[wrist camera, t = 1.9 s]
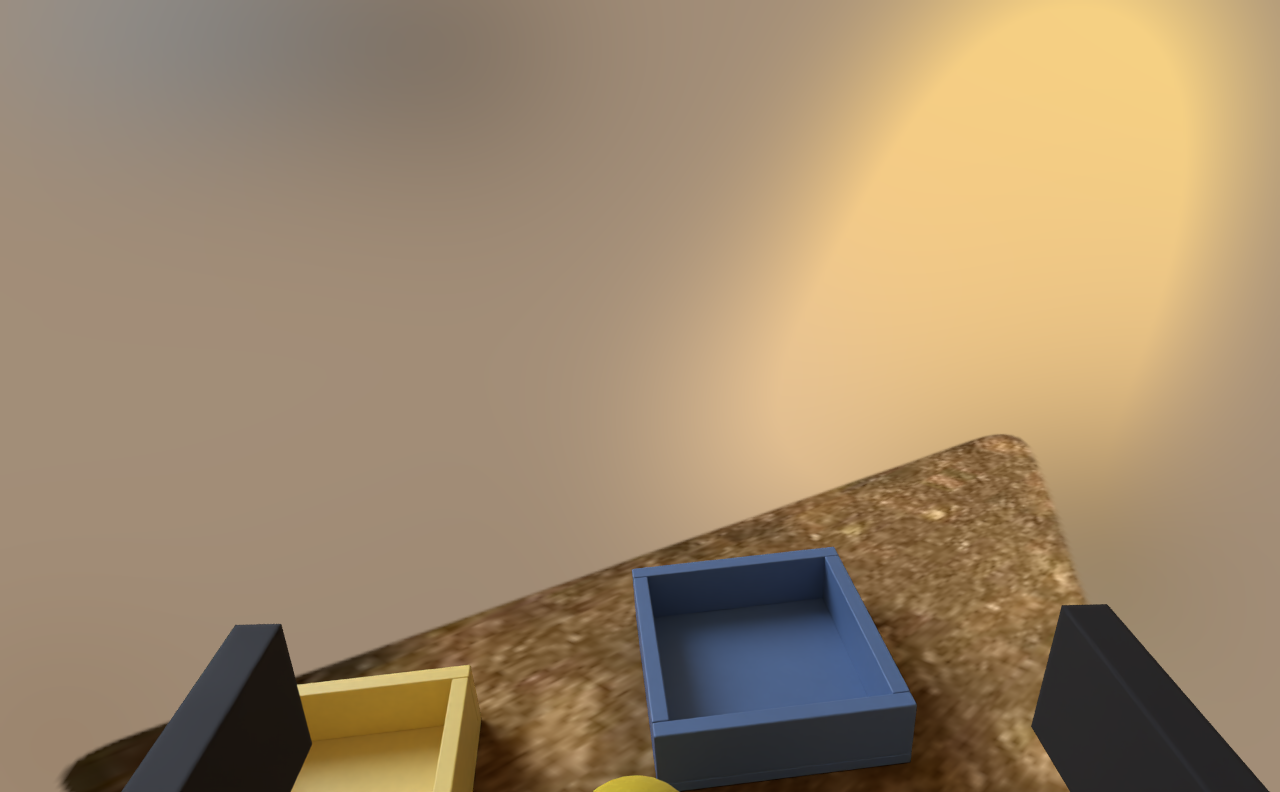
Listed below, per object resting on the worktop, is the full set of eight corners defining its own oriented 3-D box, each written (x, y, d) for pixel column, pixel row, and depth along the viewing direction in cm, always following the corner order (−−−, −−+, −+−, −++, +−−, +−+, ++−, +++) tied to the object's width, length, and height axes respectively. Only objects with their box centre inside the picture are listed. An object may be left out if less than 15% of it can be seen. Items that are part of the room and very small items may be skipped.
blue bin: (911, 762, 35) (917, 705, 34) (658, 794, 35) (653, 737, 33) (831, 596, 46) (833, 546, 44) (636, 618, 45) (631, 568, 44)
